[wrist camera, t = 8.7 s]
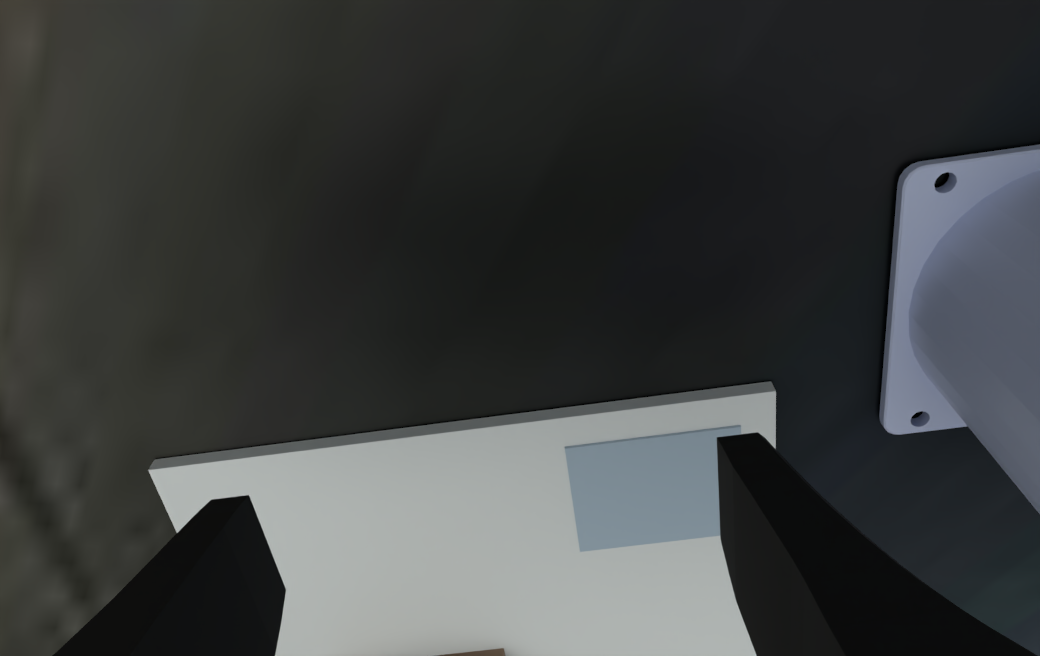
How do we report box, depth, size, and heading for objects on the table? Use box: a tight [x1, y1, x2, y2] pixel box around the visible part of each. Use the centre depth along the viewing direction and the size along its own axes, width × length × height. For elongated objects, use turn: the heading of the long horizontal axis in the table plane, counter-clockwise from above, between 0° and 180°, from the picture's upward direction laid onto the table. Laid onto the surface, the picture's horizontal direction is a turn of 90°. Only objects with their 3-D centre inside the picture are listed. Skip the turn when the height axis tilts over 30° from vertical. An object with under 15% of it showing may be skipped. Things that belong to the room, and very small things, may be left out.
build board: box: [148, 381, 776, 656], centre depth 28 cm, size 18×16×1 cm
